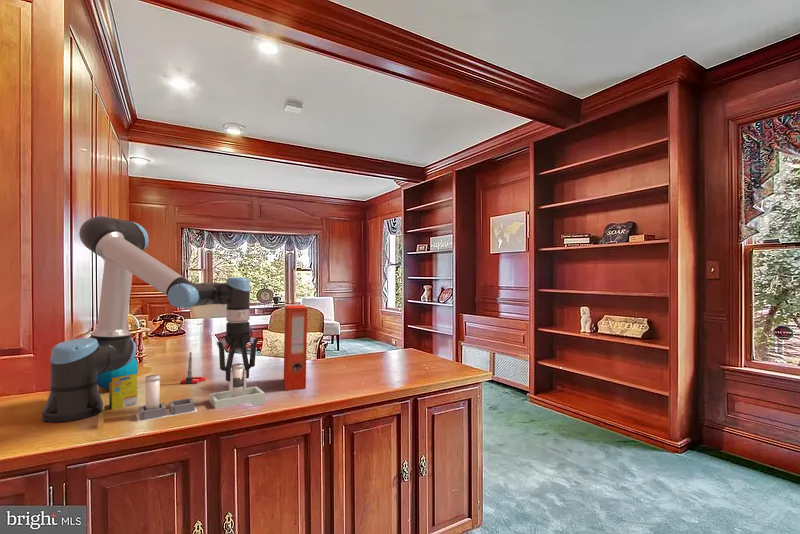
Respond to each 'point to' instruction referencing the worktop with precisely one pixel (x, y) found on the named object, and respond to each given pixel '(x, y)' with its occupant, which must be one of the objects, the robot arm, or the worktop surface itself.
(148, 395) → the cylinder
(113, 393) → the crayon box
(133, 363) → the decorative orb
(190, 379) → the tow hook
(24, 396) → the worktop surface
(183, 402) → the block
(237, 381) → the cylinder
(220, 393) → the parts tray
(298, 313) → the file binder
